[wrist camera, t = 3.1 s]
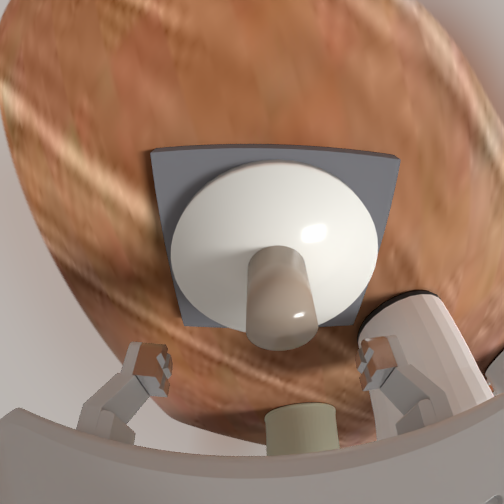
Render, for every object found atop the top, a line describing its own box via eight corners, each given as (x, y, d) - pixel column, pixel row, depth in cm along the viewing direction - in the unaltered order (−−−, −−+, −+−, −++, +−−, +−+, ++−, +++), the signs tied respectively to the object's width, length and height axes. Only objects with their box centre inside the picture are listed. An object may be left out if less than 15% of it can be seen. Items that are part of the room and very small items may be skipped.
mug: (330, 342, 21) (350, 462, 13) (409, 267, 17) (474, 400, 8) (403, 364, 24) (428, 450, 16) (467, 310, 20) (510, 399, 11)
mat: (393, 155, 12) (400, 159, 12) (350, 316, 19) (353, 324, 19) (155, 148, 12) (150, 152, 12) (186, 317, 19) (184, 325, 19)
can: (250, 414, 30) (248, 501, 21) (316, 395, 27) (327, 495, 18) (287, 430, 35) (290, 502, 25) (345, 413, 32) (356, 491, 22)
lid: (390, 167, 12) (444, 216, 8) (348, 320, 18) (365, 381, 14) (160, 162, 12) (116, 212, 8) (190, 321, 18) (178, 385, 14)
